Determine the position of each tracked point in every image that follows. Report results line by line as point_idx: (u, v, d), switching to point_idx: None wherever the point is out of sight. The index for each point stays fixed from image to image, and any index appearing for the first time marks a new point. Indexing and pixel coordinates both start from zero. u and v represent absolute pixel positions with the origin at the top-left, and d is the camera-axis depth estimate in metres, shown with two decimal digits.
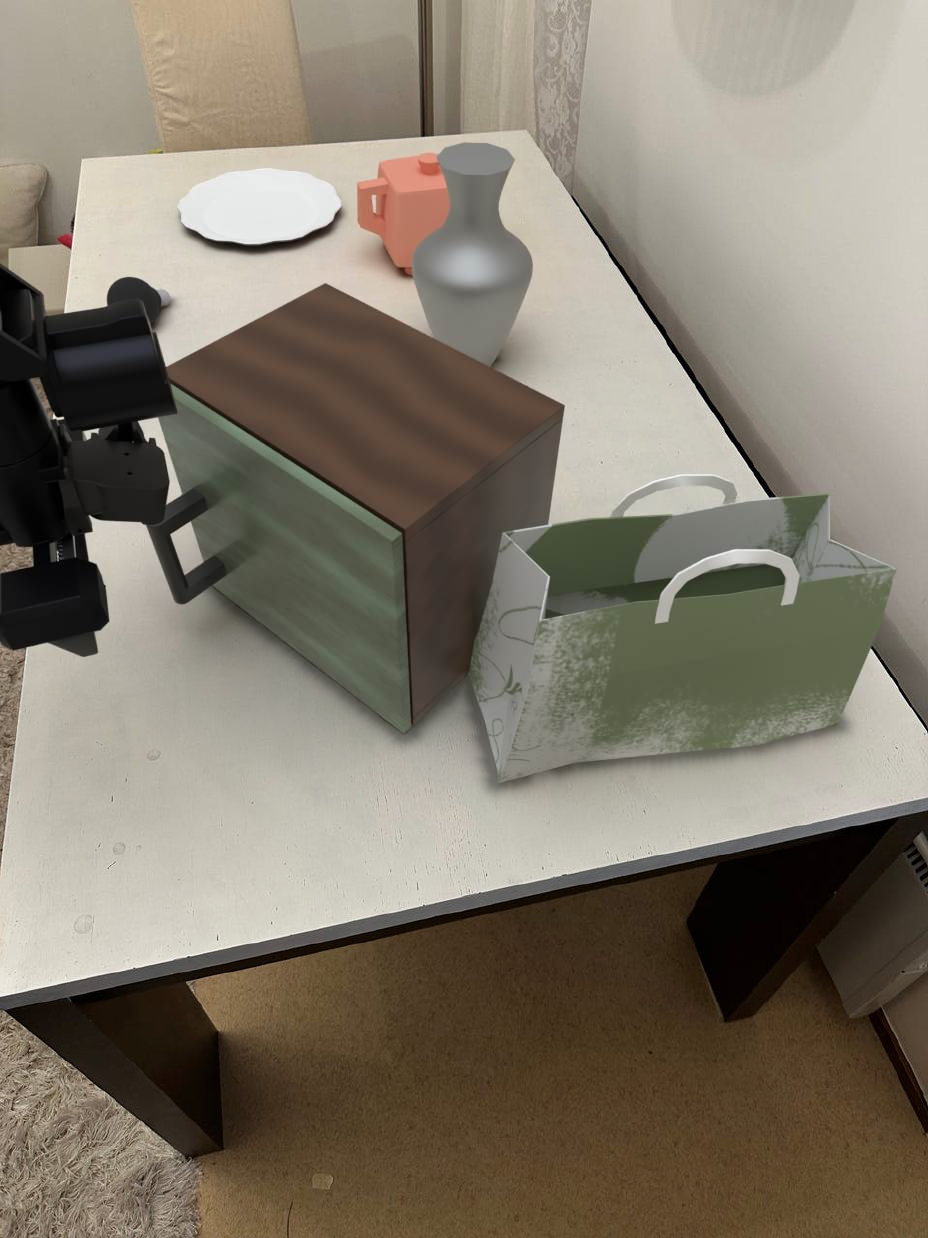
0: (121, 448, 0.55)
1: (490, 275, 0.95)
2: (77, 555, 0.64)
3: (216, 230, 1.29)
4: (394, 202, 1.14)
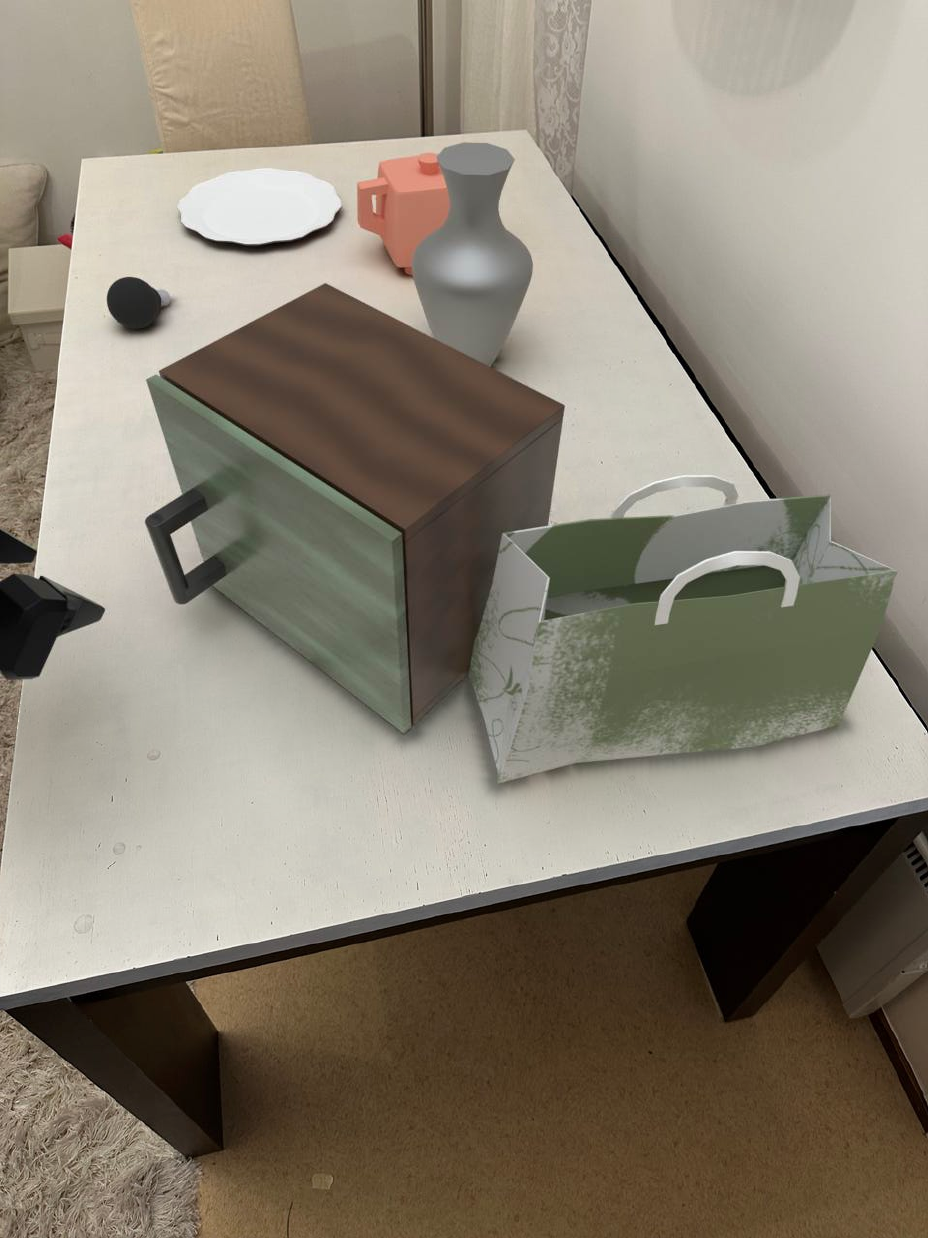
0: None
1: (490, 275, 0.95)
2: None
3: (216, 230, 1.29)
4: (394, 202, 1.14)
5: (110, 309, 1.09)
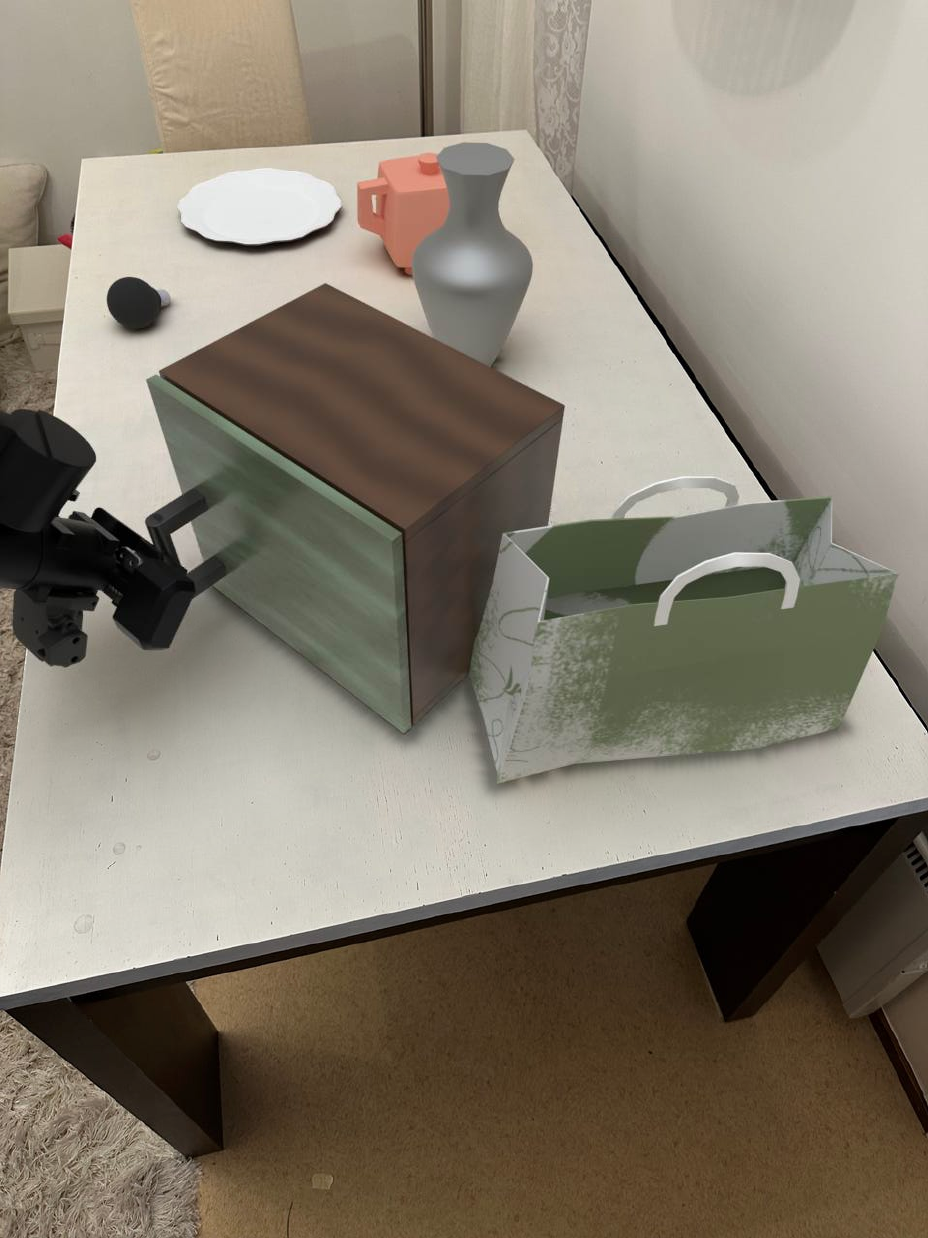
0: (41, 633, 0.65)
1: (490, 275, 0.95)
2: None
3: (216, 230, 1.29)
4: (394, 202, 1.14)
5: (110, 309, 1.09)
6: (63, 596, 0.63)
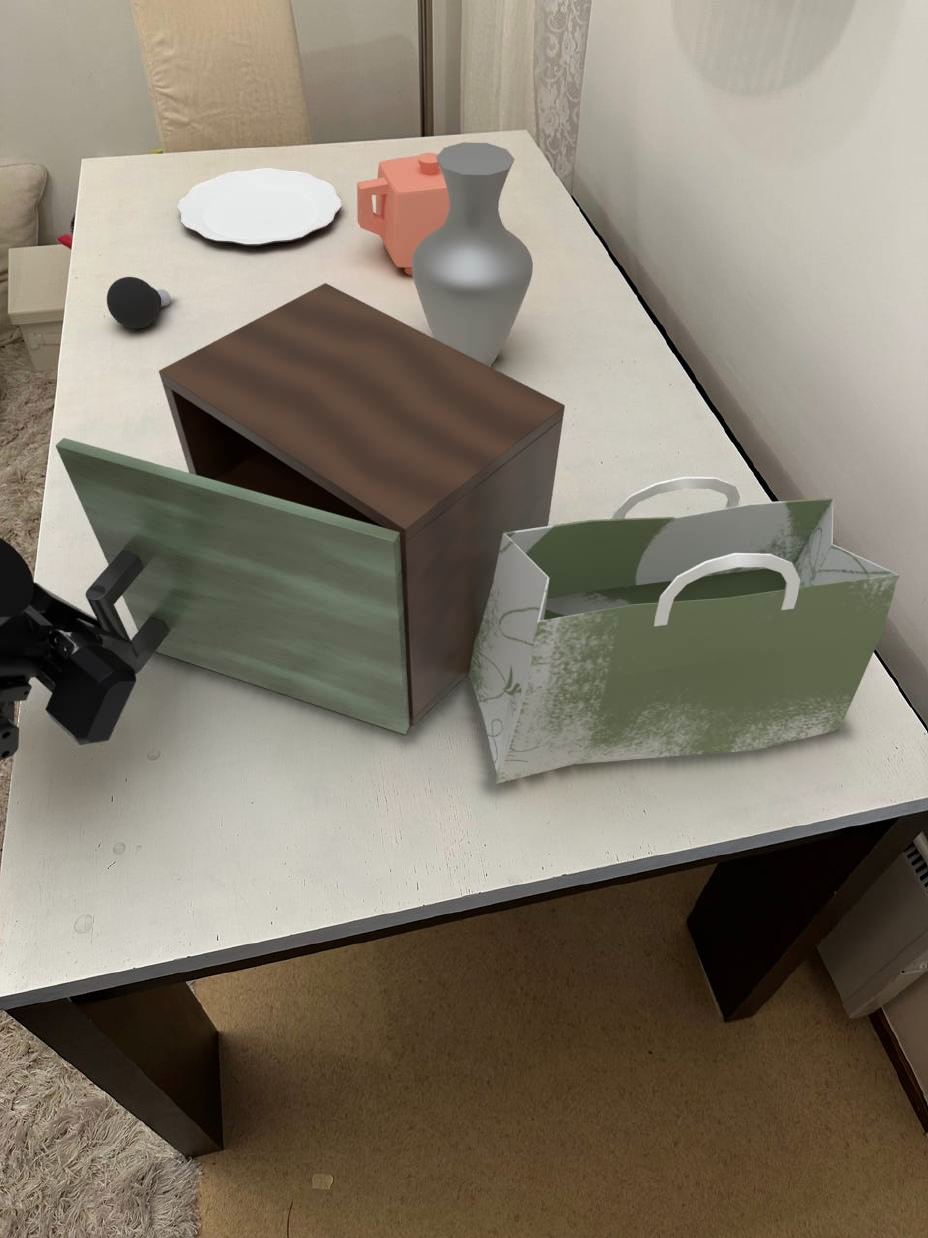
0: None
1: (490, 275, 0.95)
2: None
3: (216, 230, 1.29)
4: (394, 202, 1.14)
5: (110, 309, 1.09)
6: None
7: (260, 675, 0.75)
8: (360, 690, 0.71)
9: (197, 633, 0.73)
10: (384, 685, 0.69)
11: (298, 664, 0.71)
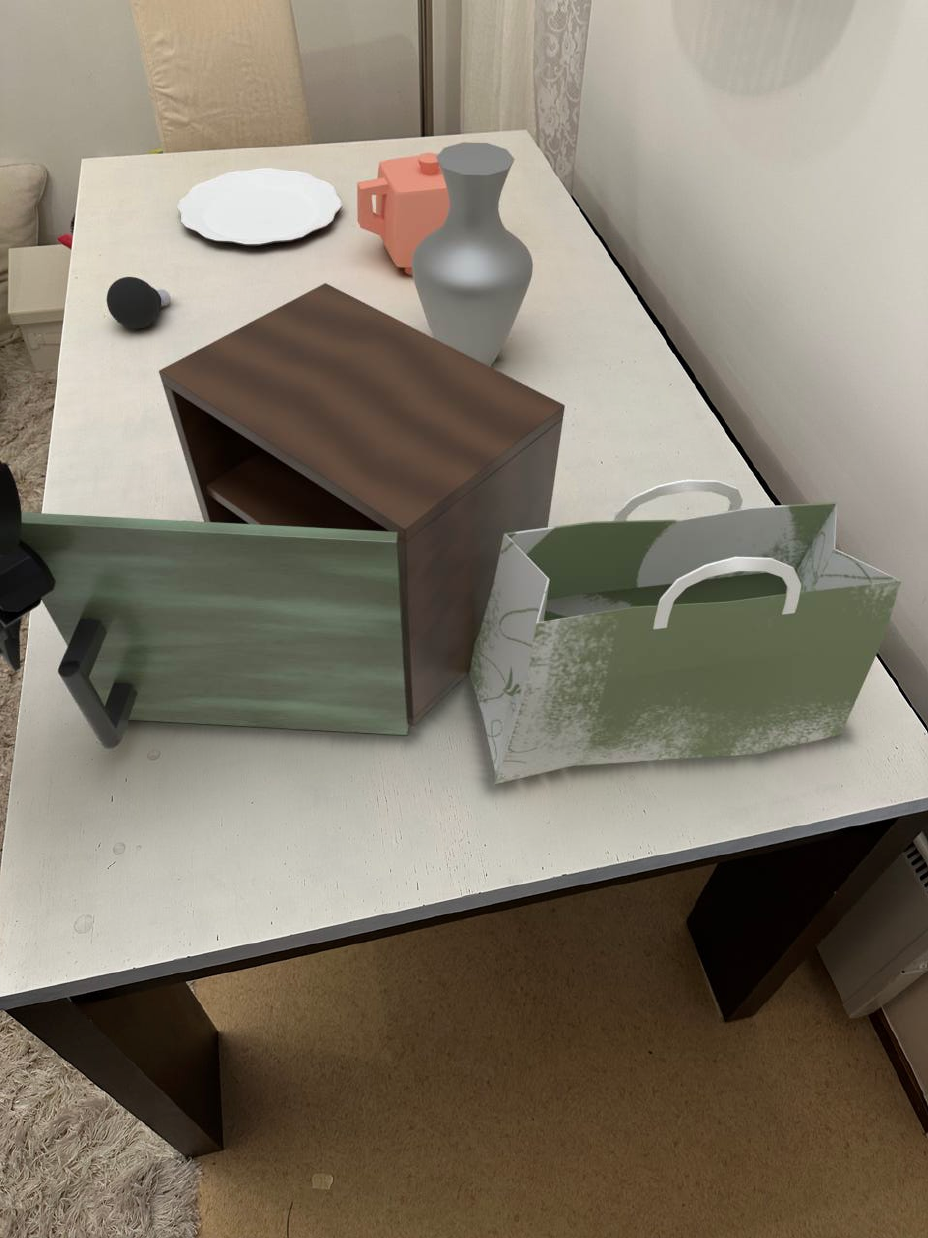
0: None
1: (490, 275, 0.95)
2: (6, 660, 0.61)
3: (216, 230, 1.29)
4: (394, 202, 1.14)
5: (110, 309, 1.09)
6: None
7: (245, 714, 0.72)
8: (358, 702, 0.70)
9: (171, 687, 0.70)
10: (384, 690, 0.68)
11: (289, 692, 0.69)
